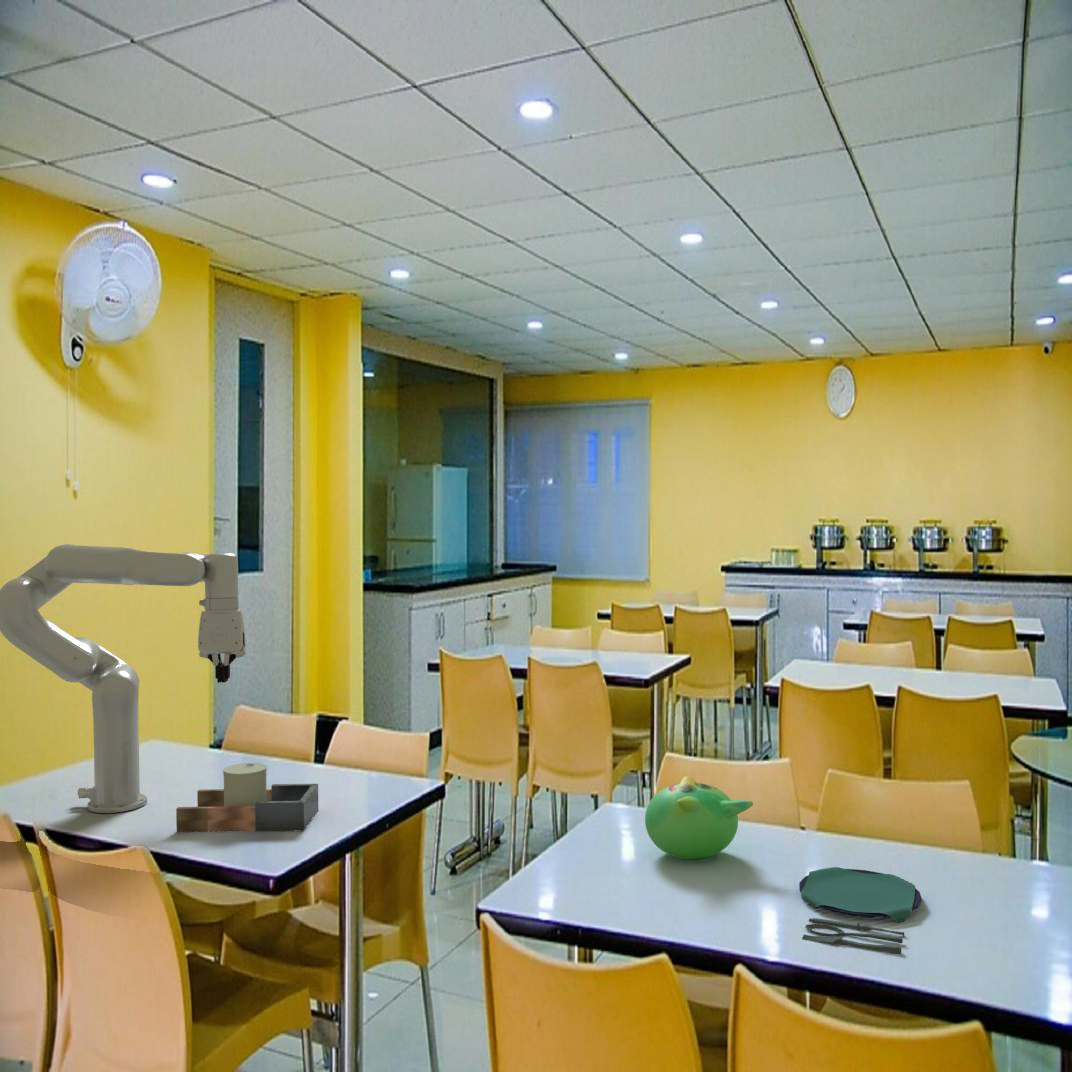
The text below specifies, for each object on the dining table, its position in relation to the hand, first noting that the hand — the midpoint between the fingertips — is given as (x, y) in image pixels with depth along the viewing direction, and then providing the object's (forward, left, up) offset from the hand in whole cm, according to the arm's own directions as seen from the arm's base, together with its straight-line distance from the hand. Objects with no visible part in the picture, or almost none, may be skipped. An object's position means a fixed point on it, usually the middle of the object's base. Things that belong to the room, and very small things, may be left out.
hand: (222, 681), depth 229 cm
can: (+11, -20, -27) cm, 36 cm away
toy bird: (+104, -46, -27) cm, 117 cm away
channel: (+7, -20, -27) cm, 35 cm away
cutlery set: (+126, -72, -28) cm, 148 cm away
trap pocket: (+20, -20, -27) cm, 39 cm away
